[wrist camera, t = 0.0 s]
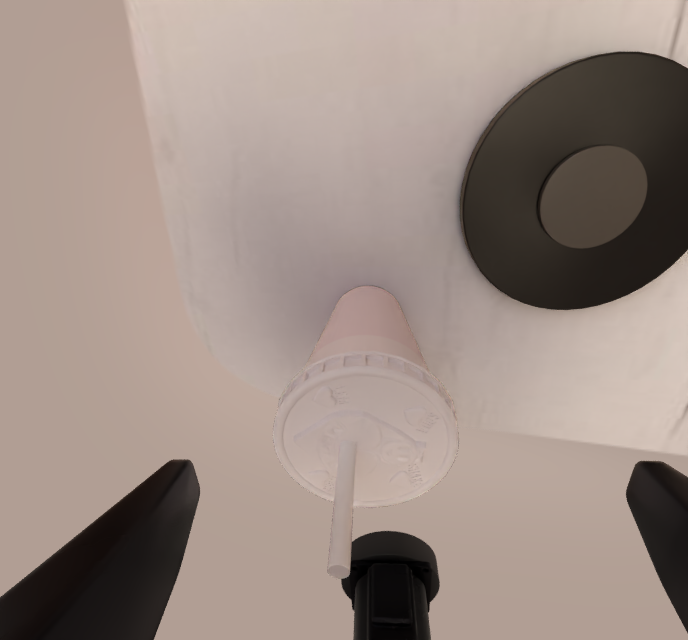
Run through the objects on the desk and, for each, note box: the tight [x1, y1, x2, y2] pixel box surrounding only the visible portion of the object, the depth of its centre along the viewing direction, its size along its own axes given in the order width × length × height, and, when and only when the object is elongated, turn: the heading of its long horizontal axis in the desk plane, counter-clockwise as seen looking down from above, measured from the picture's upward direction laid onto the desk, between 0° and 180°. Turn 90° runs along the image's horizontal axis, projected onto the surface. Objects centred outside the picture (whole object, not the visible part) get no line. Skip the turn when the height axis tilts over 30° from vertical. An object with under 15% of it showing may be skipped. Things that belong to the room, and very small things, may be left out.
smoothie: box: [273, 286, 459, 579], centre depth 16 cm, size 6×6×14 cm
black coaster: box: [460, 52, 688, 310], centre depth 19 cm, size 11×11×1 cm
